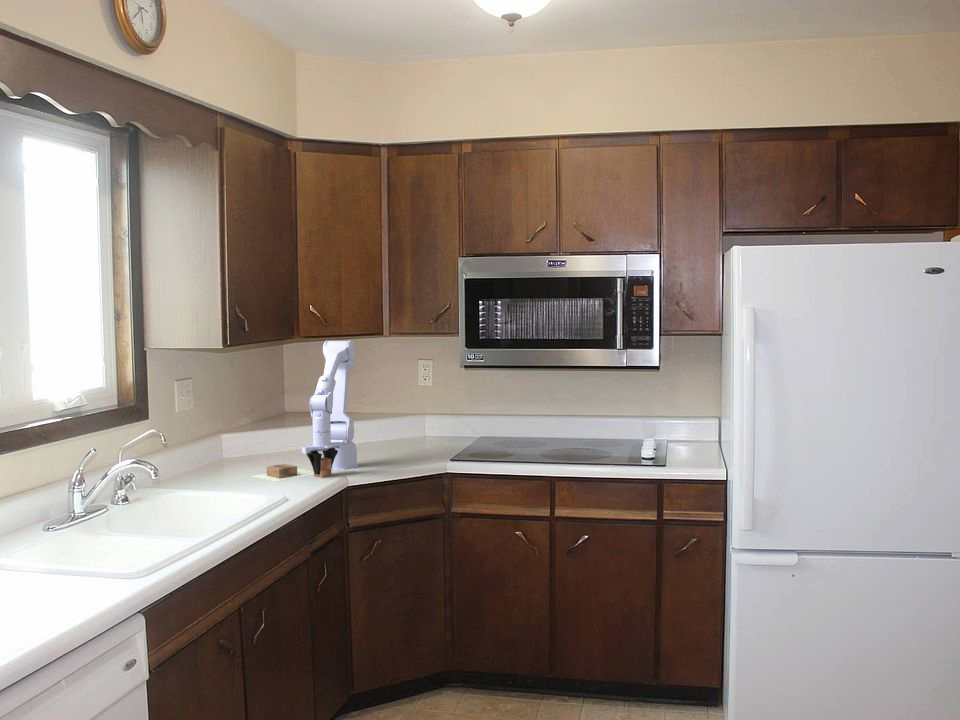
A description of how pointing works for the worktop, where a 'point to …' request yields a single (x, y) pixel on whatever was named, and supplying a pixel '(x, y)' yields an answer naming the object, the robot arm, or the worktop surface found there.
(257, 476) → the plate
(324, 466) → the cherry block
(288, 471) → the walnut slab
